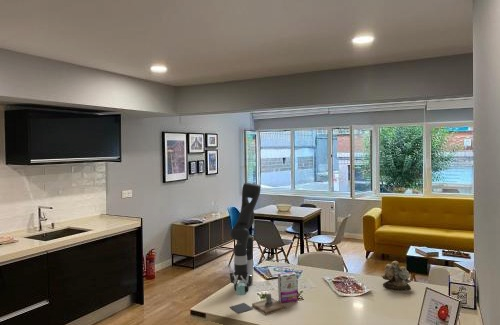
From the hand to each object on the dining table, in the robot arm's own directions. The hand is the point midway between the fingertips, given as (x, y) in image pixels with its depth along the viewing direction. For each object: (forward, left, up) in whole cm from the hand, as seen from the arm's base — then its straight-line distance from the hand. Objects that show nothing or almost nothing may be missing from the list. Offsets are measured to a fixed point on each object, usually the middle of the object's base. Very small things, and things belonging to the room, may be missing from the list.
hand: (241, 291), depth 216 cm
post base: (+8, +14, -10) cm, 19 cm away
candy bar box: (+7, +29, -10) cm, 31 cm away
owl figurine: (+31, +100, -10) cm, 105 cm away
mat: (0, 0, -10) cm, 10 cm away
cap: (0, 0, -1) cm, 1 cm away
